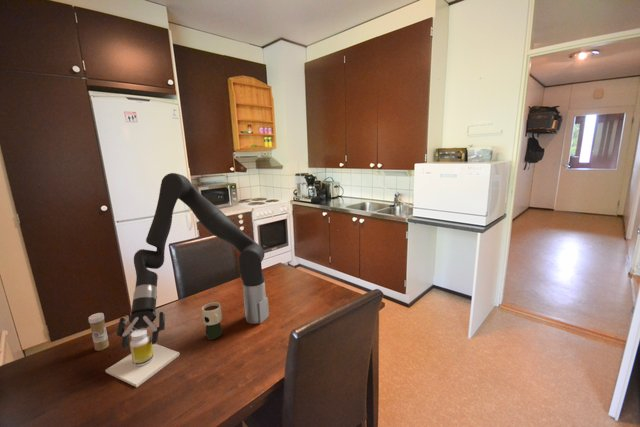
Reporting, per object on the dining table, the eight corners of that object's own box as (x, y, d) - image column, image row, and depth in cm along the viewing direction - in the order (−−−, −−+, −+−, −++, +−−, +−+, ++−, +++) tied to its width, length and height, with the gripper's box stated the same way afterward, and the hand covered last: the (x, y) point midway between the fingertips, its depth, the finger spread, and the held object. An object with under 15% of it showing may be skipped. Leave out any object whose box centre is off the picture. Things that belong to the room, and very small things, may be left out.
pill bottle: (157, 356, 103) (153, 329, 100) (142, 368, 97) (137, 339, 95) (144, 353, 105) (140, 325, 102) (128, 364, 99) (123, 336, 97)
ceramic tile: (179, 355, 105) (179, 352, 104) (136, 387, 90) (136, 384, 90) (150, 343, 111) (149, 341, 111) (105, 372, 97) (105, 370, 97)
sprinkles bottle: (93, 352, 107) (86, 320, 104) (96, 345, 111) (90, 314, 108) (108, 349, 109) (101, 317, 106) (110, 342, 113) (104, 311, 110)
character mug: (200, 333, 117) (196, 304, 114) (217, 326, 122) (214, 298, 119) (211, 346, 109) (207, 315, 106) (228, 338, 114) (226, 308, 111)
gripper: (118, 299, 101) (111, 348, 93) (163, 293, 105) (159, 340, 97) (126, 305, 108) (120, 352, 99) (168, 299, 111) (165, 344, 103)
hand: (139, 346), depth 98 cm, fingers open, 8 cm apart
